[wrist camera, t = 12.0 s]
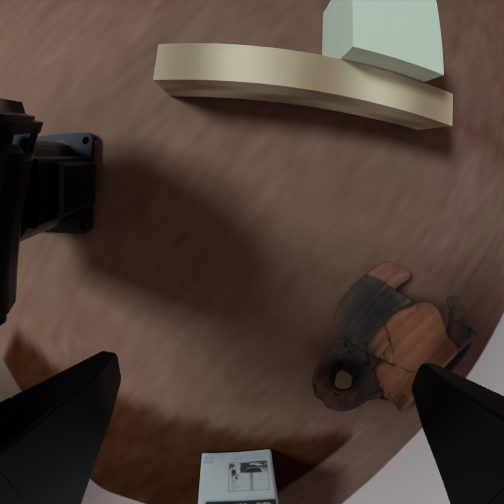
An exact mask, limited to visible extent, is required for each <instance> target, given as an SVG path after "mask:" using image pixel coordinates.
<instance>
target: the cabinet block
mask: <svg viewBox="0 0 504 504" xmlns="http://www.w3.org/2000/svg"><path fill="white" fill-rule="evenodd" d="M322 55H323V56H328V57H333V58H338V59H342V60H347V61H351V62H356V63H360V64H364V65H368V66H371V67H375V68H379V69H382V70H386V71H389V72H393V73H396V74H399V75H402V76H405V77H408V78H411V79H414V80H417V81H420V82H426V81H429V80H431V79H434V78H437V77H440V76H443V75H444V67H443V52H442V41H441V32H440V23H439V16H438V9H437V3H436V0H331V1H330V3H329V5H328V6H327V8H326V10H325V11H324V13H323V45H322Z"/></svg>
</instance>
